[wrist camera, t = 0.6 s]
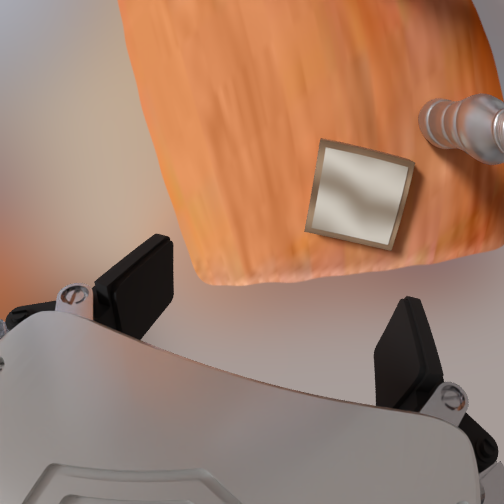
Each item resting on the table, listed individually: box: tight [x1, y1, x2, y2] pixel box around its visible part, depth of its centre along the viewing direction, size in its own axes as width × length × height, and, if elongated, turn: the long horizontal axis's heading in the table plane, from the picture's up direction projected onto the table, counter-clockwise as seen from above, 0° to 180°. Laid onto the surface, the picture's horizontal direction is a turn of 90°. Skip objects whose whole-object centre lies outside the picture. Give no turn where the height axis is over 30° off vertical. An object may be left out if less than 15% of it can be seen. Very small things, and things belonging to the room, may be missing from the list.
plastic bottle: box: [418, 94, 504, 165], centre depth 20 cm, size 6×7×20 cm
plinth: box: [304, 138, 415, 251], centre depth 35 cm, size 12×12×3 cm
